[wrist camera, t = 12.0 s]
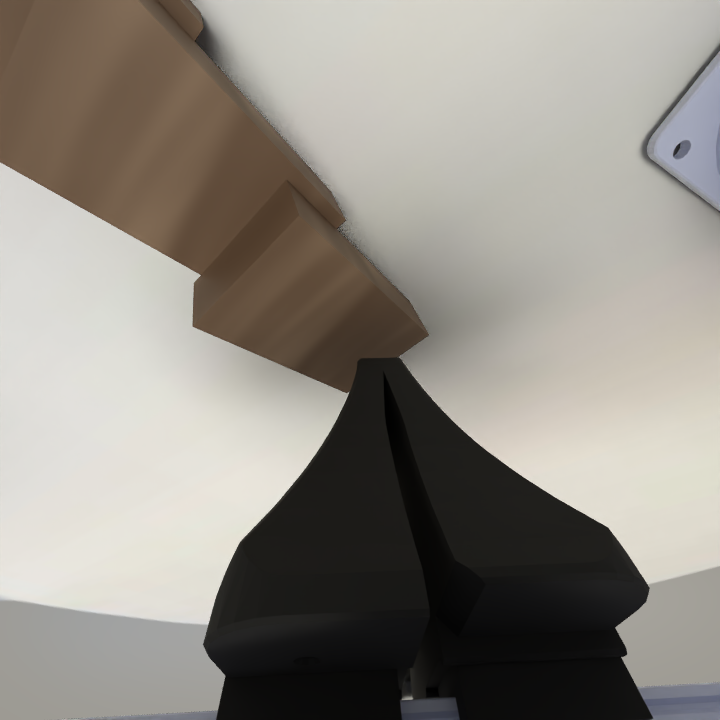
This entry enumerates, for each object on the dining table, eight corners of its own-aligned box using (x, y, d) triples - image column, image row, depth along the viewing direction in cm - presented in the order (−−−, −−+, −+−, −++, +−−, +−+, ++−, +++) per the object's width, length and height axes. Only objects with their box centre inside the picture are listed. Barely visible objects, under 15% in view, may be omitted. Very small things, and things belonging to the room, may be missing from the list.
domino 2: (429, 334, 13) (299, 215, 8) (346, 393, 14) (192, 326, 9) (409, 301, 14) (286, 179, 9) (335, 358, 15) (194, 283, 10)
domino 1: (345, 219, 10) (66, -76, 5) (256, 306, 12) (-27, 147, 7) (330, 191, 11) (92, -72, 6) (251, 273, 13) (8, 116, 8)
